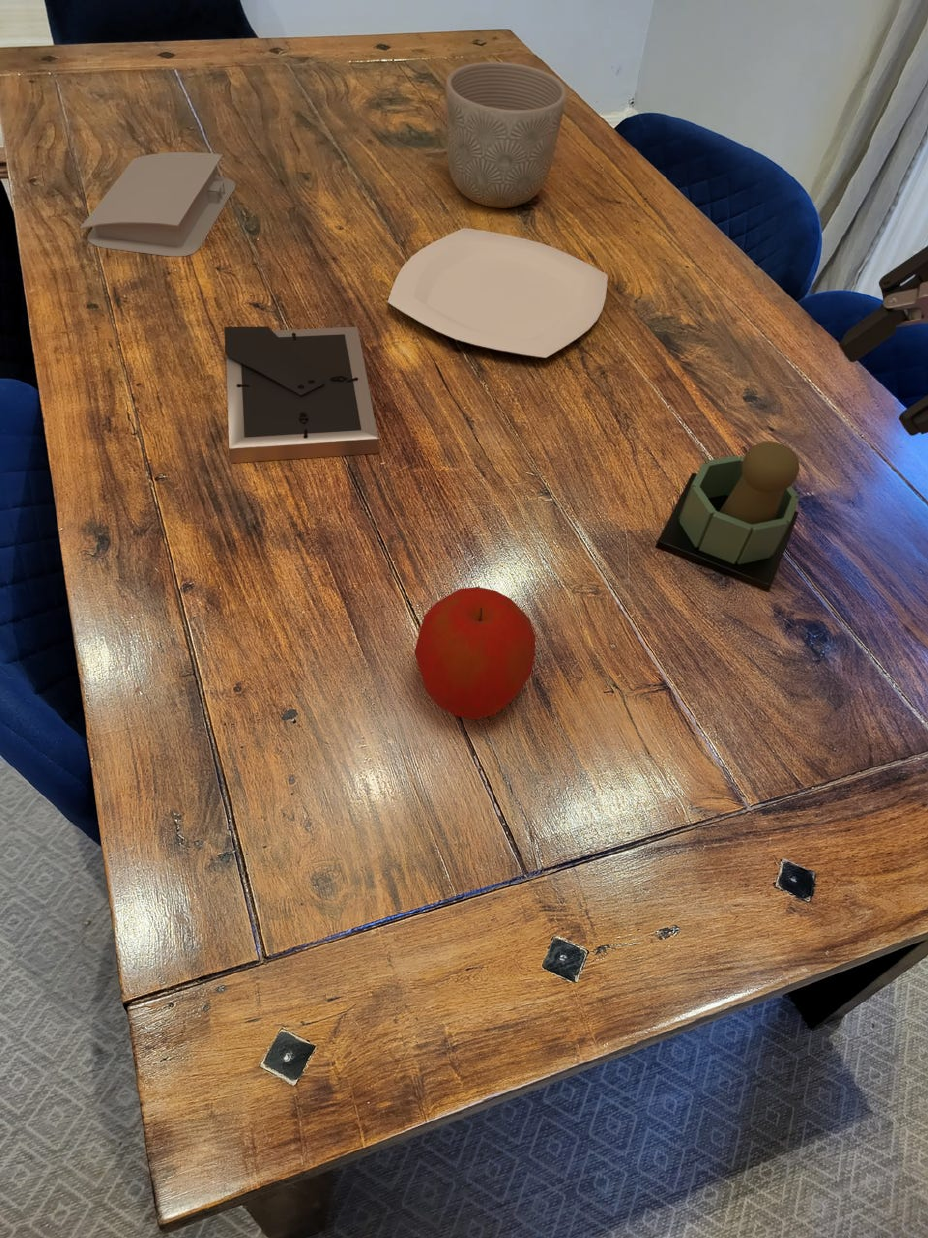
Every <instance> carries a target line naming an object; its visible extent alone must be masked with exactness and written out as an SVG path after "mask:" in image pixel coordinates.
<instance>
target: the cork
mask: <svg viewBox="0 0 928 1238" xmlns="http://www.w3.org/2000/svg"><path fill="white" fill-rule="evenodd" d="M744 457H745V458H744V460H743V463H742V473H743V475H742V477H741V478H740V480H739V481H738V483H737V484H736V486H735V488H734V489H733V491H732V492H731V494H730V495H729V497H728V499H727V500H726V502H725V503H724V505H723V506H722V508H721V509H720V511H719V512H720V513H723V514H725V515H728V516H730V517H733V518H736V519H738V520H741V521H743V522H746V523H749V524H751V525H753V524H758V523H763V522H767V521H772V520H775V519H776V515H777V512H778V509H779V505H780V502H781V499H782V495H783V492H784V490H785V489H787V488H788V487H789V486H792V485H793V484H794V483H795V482H796V479H797V478H798V475H799V472H800V461H799V458H798V455H797V454H796V452H795V451H794V450H792V448H790V447H788V446H787V445H785V444H783V443H780V442H777V441H770V440H769V441H761V442H758V443H756V444H755V445H753V446H752V447H750V448H749V449H748V450H747V452H746V453H745V455H744Z"/></svg>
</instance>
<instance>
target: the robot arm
mask: <svg viewBox="0 0 928 1238" xmlns="http://www.w3.org/2000/svg"><path fill="white" fill-rule="evenodd" d="M878 287H879V288H880V292H881V295H882V303H881V304H880V306H879V307H878V308H877V309H875V310H873V312H871V313H870V314H869V315H867V316H865V317H864V318H863V319H862V320H860V321H859V322H857V323H856V324H855V325H853V326H851V327H850V328H849V329H848V330H847V331H846V332H845V333H844V334H843V336H842V337H843V338H842V339H841V340H840V341H839V343H838V347H839V348H840V350H841V352H842V354H843V355H844V357H845V358H846V359H847V360H848V361H849V362H850V363H855V362H857V361H859V360H860V359H862V358H863V357H864V356H866V355H867V354H869V353H870V352H871V351H873V350H874V349H876V347H878V346H880V345H881V344H882V343H884V342H885V341H887V340H888V339H889V338H891V337H892V336H894V335H895V334H897V333H898V332H899V331H898V329H897V328H902V327H907V326H914V325H919V324H927V325H928V245H926V246H925V247H924V248H922V249H920V250H919V251H918V252H916V253H915V254H914V255H912V256H911V257H909V258H908V259H906V260H905V261H903V262H902V263H900V264H899V265H897V266H896V267H895V268H893V269H892V270H890V271H889V272H888V273H886V274H885V275H883V276H881V277H880V279H879V281H878ZM898 420H899V422H900V424H901V426H902V427H903V429H904V430H905V431H906V432H907V434H908V435H909V436H910V437H911V436H913V437H914V436H916V435H918V434H921V435H924V434H928V394H927V395H925V396H924V397H922V398H921V399H919V400H918V401H916V402H915V403H914V404H912V405H910V406H909V407H908V408H906V409H905V410H904V411H903V410H902V412H901V413H899V415H898Z"/></svg>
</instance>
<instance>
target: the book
mask: <svg viewBox="0 0 928 1238" xmlns="http://www.w3.org/2000/svg"><path fill="white" fill-rule="evenodd" d="M223 157H224V155H223V154H219V153H212V152H194V151H170V152H169V151H168V152H159V153H151V154H146V155H142V156H138V157H133V159H132V160H131V161H130V162H129V164H128V165H127V167H125V168H124V170H123V172H122V173H121V174H120V175H119V177H118V178H117V179H116V181H115V182H114V184H112V186H111V187H110V188H109V190H107V193H106V194H105V195H104V196H103V197H102V199H101V200H100V202H98V204H97V205H96V207H95V208H94V209H93V211H92V212H91V213H90V214H89V215H88V217H87V218H86V219H85V221H84V222H83V223H82V225H81V226H80V227H79V230H85V229H89V228H92V229H91V230H90V231H89V232H88V234H87V241H88V242H89V243H90V244H91V245H92V246H94V247H95V246H96V247H99V248H102V249H107V250H108V249H109V250H115V251H116V250H117V251H123V252H124V251H125V252H132V253H139V254H146V255H147V254H148V255H153V256H162V257H163V256H164V257H170V258H183V257H187V256H190V255H191V256H192V255H194V254H195V253H196V252H198V251H199V250H200V248H201V247H202V245H203V243H204V242H205V240H206V238H207V237H208V235H209V233H210V231H211V230H212V228H213V226H214V225H215V223H216V221H217V220H218V218H219V216H220V215H221V213H222V211H223V209H224V207H225V206H226V204H227V203H228V201H229V199H230V197H231V196H232V194H233V192H234V191H235V189H236V182H235V181H233V180H232V179H231V178H227V177H224V176H219V175H218V169H217V167H218V165H219V163H220V162H221V160H222V158H223Z"/></svg>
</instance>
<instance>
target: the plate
mask: <svg viewBox="0 0 928 1238" xmlns="http://www.w3.org/2000/svg"><path fill="white" fill-rule="evenodd" d="M608 277H609V274H607V273H606V272H604V271H602V270H600V269H598V268H597V267H595V266H593V265H591V264H589V263H587V262H585V261H584V260H581V259H580V258H577V257H576V256H574V255H571V254H569V253H567V252H565V251H562V250H560V249H558V248H556V247H553V246H551V245H548V244H546V243H542V242H539V241H535V240H532V239H528V238H524V237H519V236H514V235H510V234H504V233H499V232H492V231H487V230H482V229H481V230H480V229H474V228H467V227H462V228H461V229H459V230H456V231H453V232H452V233H449V234H448V235H447V234H446V236H443V237H441V238H439V239H437V240H435V241H433V242H431V243H429V244H427V245H426V246H425V247H423V248H421V249H420V250H418V251H417V252H416V253H415V254H413V255H412V256H411V257H410V258H408V259H407V261H406V262H405V264H403V266H402V267H401V269H400V270H399V272H398V274H397V276H396V278H395V279H394V280H395V281H394V283H393V286H392V288H391V291H390V293H389V297H388V299H387V304H388V305H390V306H391V307H393V308H394V309H395V310H397V311H399V312H400V313H402V314H404V315H405V316H407V317H408V318H410V319H412V320H413V321H416V322H417V323H419V324H420V325H423V326H424V327H426V328H428V329H429V330H432V331H434V332H436V333H438V334H440V335H441V336H442V335H443V336H445V337H447V338H450V339H452V340H454V341H457V342H460V343H464V344H467V345H471V346H474V347H478V348H482V349H487V350H491V351H495V352H500V353H505V354H506V353H507V354H513V355H518V356H525V357H529V358H535V359H536V358H537V359H544V360H546V359H547V358H549V357H551V356H553V355H554V354H556V353H557V352H559V351H561V350H562V349H564V348H566V347H568V346H569V345H571V344H572V343H573V342H575V341H577V340H578V339H580V338H581V336H583V335H584V334H586V333H587V332H588V331H589V330H590V329H591V328H592V326H594V325H595V323H596V322H597V321H598V319H599V317H600V316H601V314H602V313H603V310H604V306H605V304H606V300H607V291H608V281H609V280H608V279H609V278H608Z"/></svg>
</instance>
